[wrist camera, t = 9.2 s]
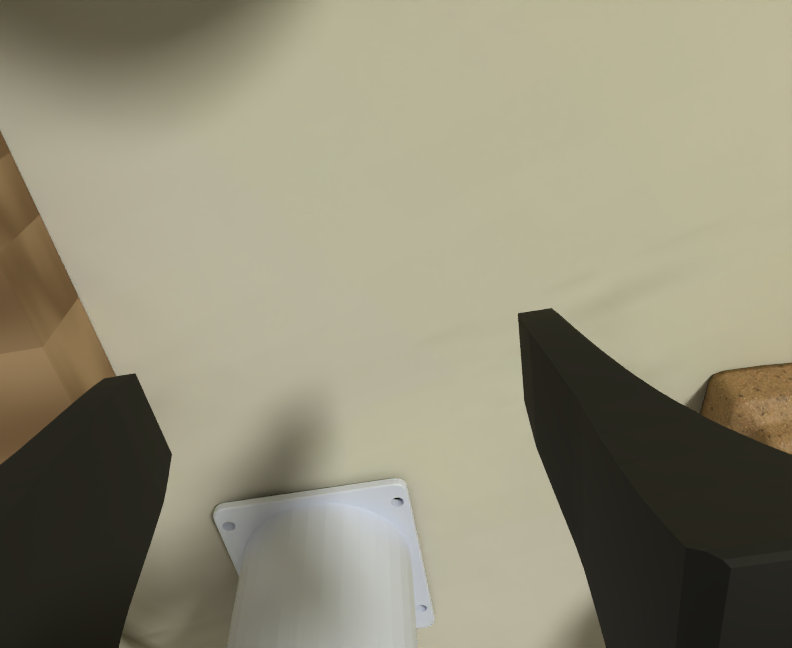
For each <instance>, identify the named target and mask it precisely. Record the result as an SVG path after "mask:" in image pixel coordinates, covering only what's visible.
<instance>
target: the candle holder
mask: <svg viewBox="0 0 792 648" xmlns="http://www.w3.org/2000/svg"><path fill="white" fill-rule="evenodd" d="M700 415H702V416H704V417H706V418H708V419H710V420H712V421H714V422H716V423H718V424H720V425H722V426H725V427H727V428H729V429H731V430H734V431H736V432H738V433H740V434H743V435H745V436H747V437H749V438H752V439H754V440H756V441H758V442H761V443H763V444H766V445H768V446H771V447H774V448H776V449H779V450H781V451H784V452H786V453H789V454H792V363H784V364H774V365H763V366H755V367H748V368H741V369H733V370H726V371H722V372H719V373H717V374H714V375H713V377H712V378H711V380H710V381H709V383H708V387H707V391H706V395H705V398H704V402H703V406H702V410H701V414H700Z"/></svg>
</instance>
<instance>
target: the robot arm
mask: <svg viewBox="0 0 792 648" xmlns="http://www.w3.org/2000/svg"><path fill="white" fill-rule="evenodd" d="M518 322H519V335H520V348H521V361H522V375H523V388H524V401H525V405H526V409H527V413H528V417H529V421H530V425H531V429H532V432H533V436H534V440H535V444H536V447H537V450H538V452H539V455H540V458H541V460H542V463H543V465H544V468H545V470H546V473H547V475H548V478H549V480H550V483H551V485H552V488H553V490H554V493H555V495H556V498H557V500H558V503H559V505H560V508H561V510H562V513H563V515H564V518H565V520H566V523H567V525H568V528H569V530H570V533H571V535H572V538H573V540H574V543H575V545H576V548H577V550H578V553H579V556H580V559H581V562H582V565H583V568H584V571H585V574H586V578H587V581H588V584H589V588H590V591H591V595H592V598H593V602H594V605H595V609H596V612H597V616H598V619H599V623H600V627H601V630H602V634H603V638H604V641H605V645H606V648H792V454H789V453H786V452H784V451H781V450H779V449H776V448H774V447H771V446H768V445H766V444H763V443H761V442H758V441H756V440H754V439H752V438H749V437H747V436H745V435H743V434H740V433H738V432H736V431H734V430H731V429H729V428H727V427H725V426H722V425H720V424H718V423H716V422H714V421H712V420H710V419H708V418H706V417H704V416H702V415H700V414H699V413H697V412H695V411H693V410H691V409H689V408H688V407H686V406H684V405H682V404H680V403H678V402H677V401H675V400H673V399H671V398H670V397H668V396H666V395H665V394H663V393H661V392H660V391H658V390H656V389H655V388H653V387H652V386H650V385H649V384H647V383H646V382H644V381H643V380H641V379H640V378H638V377H637V376H635V375H634V374H632V373H631V372H630V371H628V370H627V369H625V368H624V367H623V366H621V365H620V364H619V363H617V362H616V361H615V360H614V359H612V358H611V357H610V356H608V355H607V354H606V353H604V352H603V351H602V350H601V349H599V348H598V347H597V346H596V345H594V344H593V343H592V342H591V341H590V340H588V339H587V338H586V337H585V336H584V335H582V334H581V333H580V332H579V331H578V330H577V329H575V328H574V327H573V326H572V325H571V324H570V323H568V322H567V321H566V320H565V319H564V318H563V317H562V316H560V315H559V314H558V313H557V312H556V311H554V310H553V309H552V308H550V309H543V310H537V311H531V312H524V313H518ZM171 456H172V454H171V451H170V449H169V447H168V445H167V442H166V440H165V438H164V436H163V434H162V431H161V429H160V427H159V425H158V423H157V420H156V418H155V416H154V414H153V411H152V409H151V407H150V405H149V403H148V400H147V398H146V396H145V394H144V392H143V389H142V387H141V385H140V383H139V380H138V378H137V376H136V374H129V375H122V376H116V377H110V378H104V379H103V380H101V381H100V382H98V383H97V384H96V385H94V386H93V387H92V388H90V389H89V390H88V391H87V392H85V393H84V394H83V395H82V396H80V397H79V398H78V399H77V400H76V401H75V402H73V403H72V404H71V405H70V406H69V407H68V408H66V409H65V410H64V411H63V412H62V413H61V414H59V415H58V416H57V417H56V418H55V419H54V420H53V421H51V422H50V423H49V424H48V425H47V426H46V427H44V428H43V429H42V430H41V431H40V432H39V433H38V434H36V435H35V436H34V437H33V438H32V439H31V440H29V441H28V442H27V443H26V444H25V445H24V446H23V447H21V448H20V449H19V450H18V451H17V452H15V453H14V454H13V455H12V456H10V457H9V458H8V459H7V460H5V461H4V462H3V463H2V464H0V648H119V643H120V639H121V634H122V631H123V627H124V624H125V620H126V617H127V613H128V609H129V606H130V603H131V600H132V597H133V594H134V591H135V588H136V585H137V582H138V579H139V576H140V573H141V570H142V567H143V564H144V561H145V558H146V555H147V552H148V549H149V546H150V543H151V540H152V537H153V534H154V531H155V528H156V525H157V522H158V519H159V516H160V512H161V509H162V506H163V502H164V498H165V492H166V487H167V482H168V476H169V469H170V463H171ZM393 498H401V499H393ZM213 518H214V521H215V523H216V526H217V528H218V530H219V532H220V535H221V537H222V539H223V542H224V544H225V546H226V548H227V551H228V553H229V555H230V558H231V560H232V562H233V564H234V567H235V569H236V571H237V574H238V576H239V581H238V587H237V592H236V598H235V603H234V609H233V614H232V619H231V625H230V630H229V636H228V641H227V647H226V648H418V643H417V629H418V628H425V627H429V626H431V625H432V624H433V623H434V621H435V617H434V610H433V606H432V601H431V596H430V591H429V587H428V582H427V577H426V572H425V568H424V563H423V558H422V553H421V549H420V544H419V539H418V534H417V530H416V525H415V520H414V515H413V510H412V506H411V501H410V496H409V491H408V487H407V484H406V482H405V481H403V480H402V479H399V478H392V479H385V480H378V481H371V482H364V483H357V484H351V485H344V486H337V487H330V488H323V489H316V490H309V491H303V492H296V493H289V494H282V495H275V496H268V497H261V498H255V499H248V500H241V501H234V502H227V503H222V504H219V505H218V506H216V508H215V510H214V514H213ZM227 522H231V523H227Z"/></svg>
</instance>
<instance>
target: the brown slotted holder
mask: <svg viewBox="0 0 792 648" xmlns="http://www.w3.org/2000/svg"><path fill="white" fill-rule="evenodd" d="M110 377H116V375H115V373H114V371H113V369H112V367H111V365H110V362H109V360H108V358H107V356H106V354H105V352H104V350H103V348H102V346H101V343H100V341H99V339H98V337H97V335H96V333H95V331H94V329H93V326H92V324H91V322H90V320H89V318H88V316H87V314H86V312H85V309H84V307H83V305H82V303H81V301H80V299H79V297H78V295H77V293H76V290H75V288H74V286H73V284H72V282H71V280H70V278H69V276H68V273H67V271H66V269H65V267H64V265H63V263H62V261H61V259H60V256H59V254H58V252H57V250H56V248H55V246H54V244H53V242H52V240H51V237H50V235H49V233H48V231H47V229H46V227H45V225H44V223H43V220H42V218H41V216H40V214H39V212H38V210H37V208H36V206H35V204H34V201H33V199H32V197H31V195H30V193H29V191H28V189H27V187H26V184H25V182H24V180H23V178H22V176H21V174H20V172H19V170H18V167H17V165H16V163H15V161H14V159H13V157H12V155H11V153H10V151H9V148H8V146H7V144H6V142H5V140H4V138H3V136H2V134H1V131H0V464H2V463H3V462H4V461H5V460H7V459H8V458H9V457H10V456H12V455H13V454H14V453H15V452H17V451H18V450H19V449H20V448H21V447H23V446H24V445H25V444H26V443H27V442H28V441H29V440H31V439H32V438H33V437H34V436H35V435H36V434H38V433H39V432H40V431H41V430H42V429H43V428H44V427H46V426H47V425H48V424H49V423H50V422H51V421H53V420H54V419H55V418H56V417H57V416H58V415H59V414H61V413H62V412H63V411H64V410H65V409H66V408H68V407H69V406H70V405H71V404H72V403H73V402H75V401H76V400H77V399H78V398H79V397H80V396H82V395H83V394H84V393H85V392H87V391H88V390H89V389H90V388H92V387H93V386H94V385H96V384H97V383H98V382H100V381H101V380H103V379H104V378H110Z"/></svg>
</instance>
